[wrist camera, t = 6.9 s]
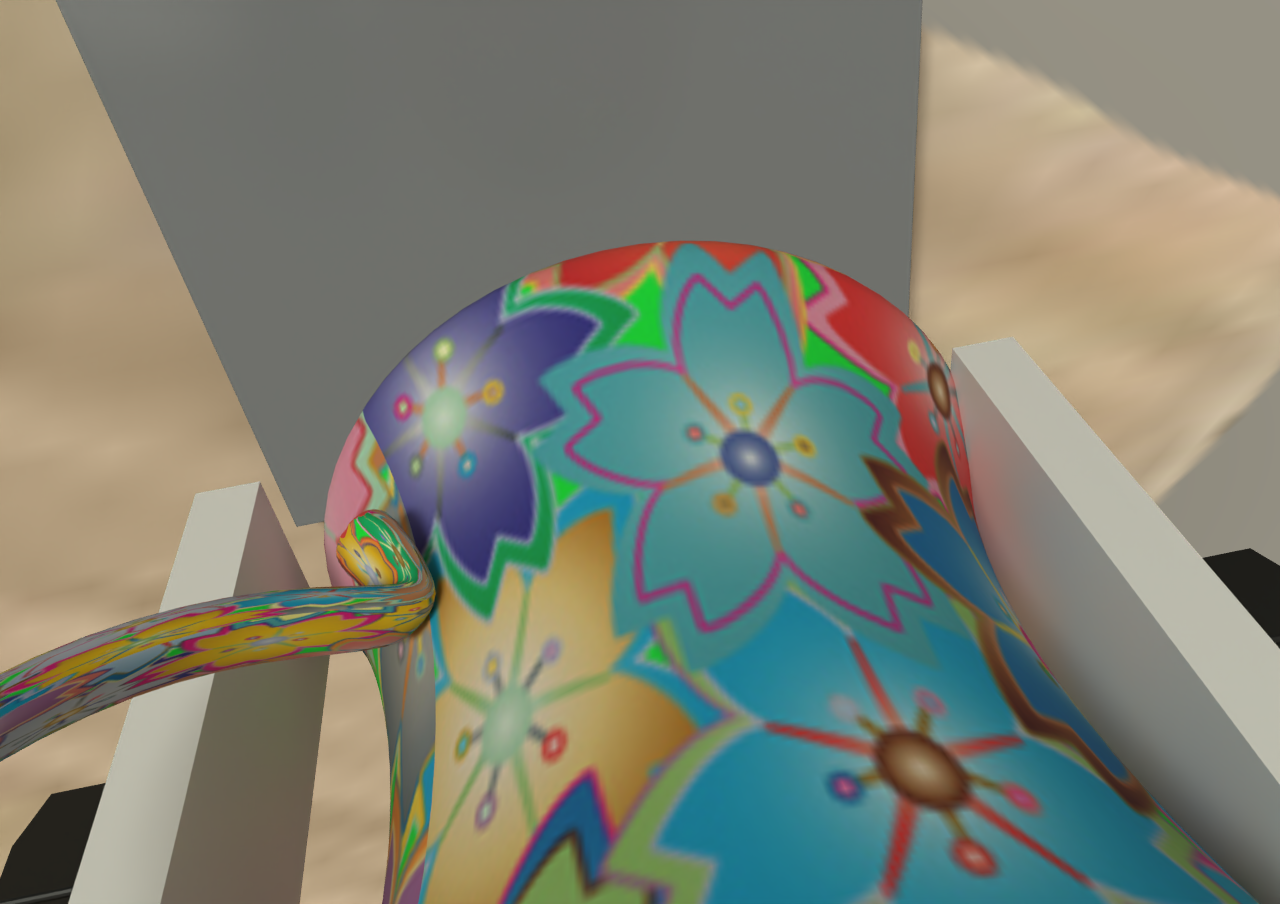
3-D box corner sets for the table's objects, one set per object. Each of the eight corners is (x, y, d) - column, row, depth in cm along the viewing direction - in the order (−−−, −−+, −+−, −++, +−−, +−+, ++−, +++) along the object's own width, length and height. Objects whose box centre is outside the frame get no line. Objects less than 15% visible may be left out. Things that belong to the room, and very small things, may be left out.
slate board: (301, 501, 27) (296, 526, 26) (-20, -221, 17) (-43, -216, 16) (891, 386, 27) (904, 406, 27) (916, -374, 17) (939, -376, 17)
